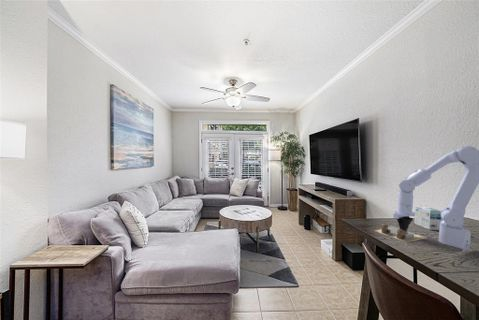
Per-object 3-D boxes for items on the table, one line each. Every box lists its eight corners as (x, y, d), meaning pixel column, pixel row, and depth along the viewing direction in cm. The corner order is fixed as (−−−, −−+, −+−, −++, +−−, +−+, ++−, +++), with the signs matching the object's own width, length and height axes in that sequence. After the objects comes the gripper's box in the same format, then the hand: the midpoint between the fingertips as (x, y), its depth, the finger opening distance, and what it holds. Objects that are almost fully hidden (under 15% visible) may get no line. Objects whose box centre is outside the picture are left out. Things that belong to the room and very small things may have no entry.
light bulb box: (441, 230, 116) (443, 210, 115) (429, 229, 116) (430, 210, 115) (425, 224, 126) (426, 206, 126) (413, 223, 126) (414, 205, 126)
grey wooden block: (414, 237, 100) (414, 233, 100) (405, 239, 97) (405, 235, 97) (391, 230, 109) (391, 226, 109) (382, 231, 106) (383, 227, 106)
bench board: (426, 240, 101) (427, 229, 100) (407, 244, 94) (408, 233, 94) (392, 229, 114) (393, 219, 114) (373, 232, 107) (374, 222, 107)
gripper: (404, 201, 111) (402, 227, 112) (387, 203, 105) (385, 230, 106) (420, 204, 105) (418, 232, 105) (403, 206, 99) (401, 235, 99)
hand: (403, 231), depth 105 cm, fingers closed
